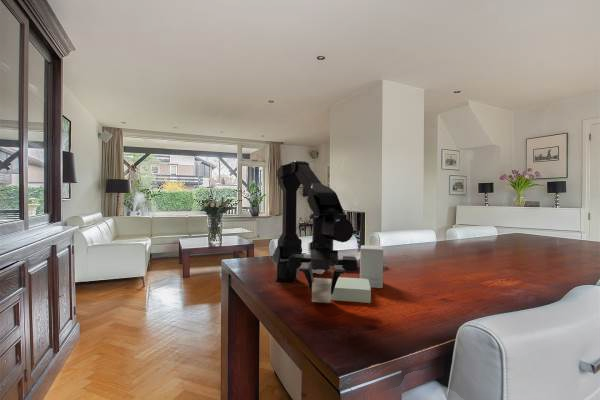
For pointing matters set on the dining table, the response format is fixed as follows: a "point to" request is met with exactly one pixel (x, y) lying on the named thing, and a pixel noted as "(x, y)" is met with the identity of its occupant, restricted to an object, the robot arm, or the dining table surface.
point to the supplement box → (372, 265)
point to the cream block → (321, 290)
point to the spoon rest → (359, 258)
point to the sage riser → (352, 290)
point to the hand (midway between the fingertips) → (321, 293)
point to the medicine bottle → (308, 255)
